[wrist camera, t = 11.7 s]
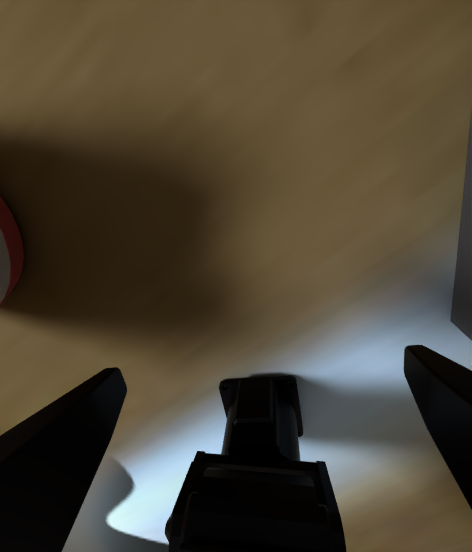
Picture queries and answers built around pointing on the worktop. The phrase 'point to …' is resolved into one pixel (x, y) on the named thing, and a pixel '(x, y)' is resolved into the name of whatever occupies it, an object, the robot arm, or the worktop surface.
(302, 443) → the worktop surface
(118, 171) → the worktop surface
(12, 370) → the worktop surface
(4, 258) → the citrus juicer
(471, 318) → the grey open rectangular box
